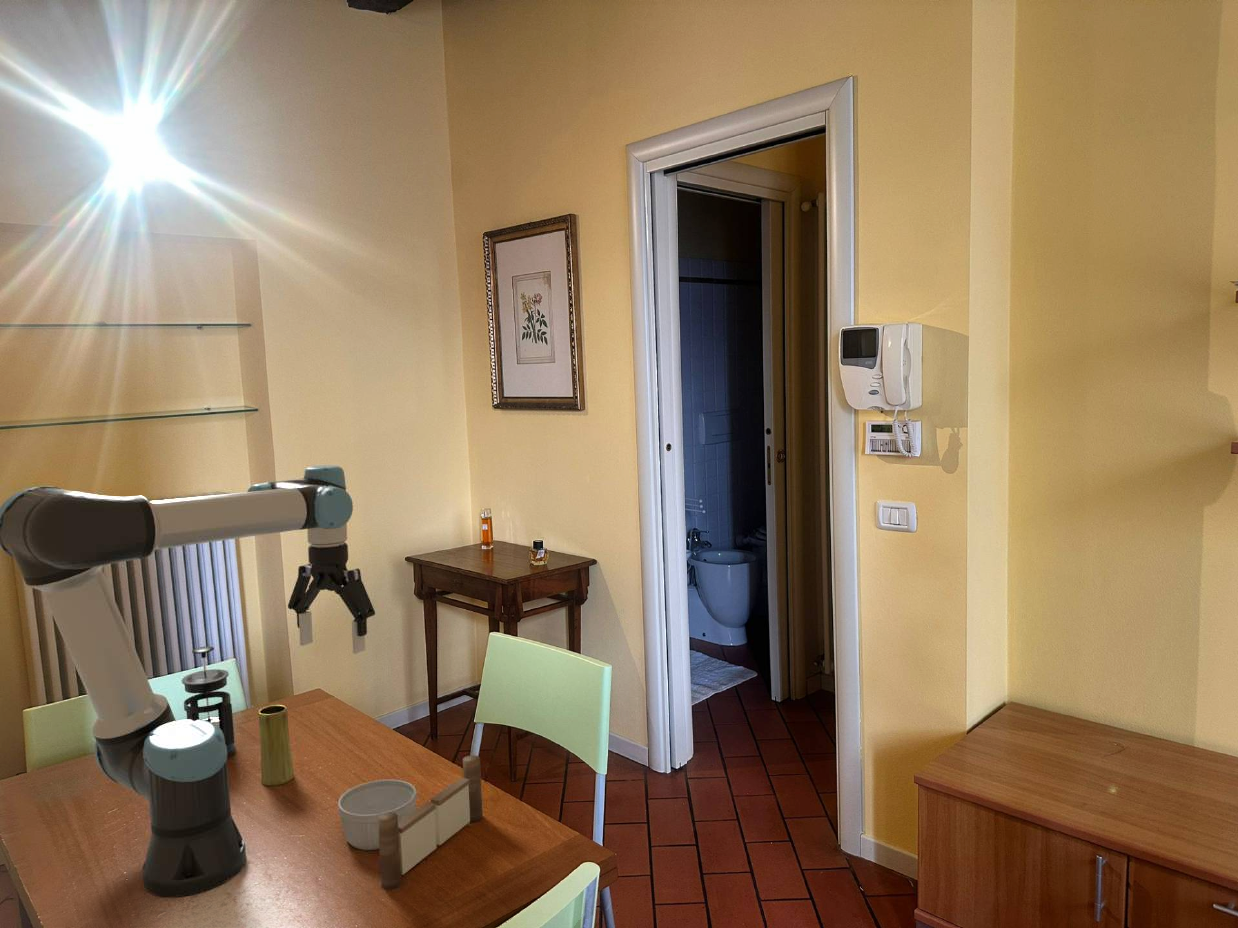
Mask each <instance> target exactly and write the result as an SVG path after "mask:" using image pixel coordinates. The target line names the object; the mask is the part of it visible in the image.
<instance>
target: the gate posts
mask: <svg viewBox="0 0 1238 928" xmlns="http://www.w3.org/2000/svg"><path fill="white" fill-rule="evenodd" d="M462 769H463V770H462V771H463V773H462V774H463V778H466V779H470V784H469V785H468V786H469V807H470V822H469V823H478V822H480V821H481V820H483V818H484V816H483V813H484V812H483V795H482V792H483V791H482V779H481V778H482V775H481V774H482V771H481V757H480V756H478V755H476V754H475V755H474V754H473V755H471V754H470V755H468V756H464V757H463V758H462ZM378 833H379V849H378V850H379V863H380V879H381V880H380V881H381V882H380V883H381V888H383V889H385V890H392V889H396V888H398V887H399V886H401V884H402V874H401V866H400V849H399V831H398V815H397V814H396V813H394V812H387V813H383V814H381V815H380V816H378Z"/></svg>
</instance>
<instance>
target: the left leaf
mask: <svg viewBox="0 0 1238 928" xmlns="http://www.w3.org/2000/svg"><path fill="white" fill-rule="evenodd" d="M435 809H436V804H434V803H431V802H428V801H426V802H425V803H423V804H422V805H420V806H419V807H418V808H415V811H413V812H412V813H410V814H409V815H408V816H406V817H405V818H403V819H402V820H401V821H399V822H398V831H399V849H400V866H401V876H403V875H404V874H406V873H407V872H408V871H410V870H411V869H412V868H413V867H414V866H416V865H417V864H418V863H420V862H421V861H422V860H423V859H425V858H426V857H428V855H430V854H431V853H432V852H434V851H435V850H436V849H437V844H436V830H435V811H434V810H435Z"/></svg>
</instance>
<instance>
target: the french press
mask: <svg viewBox="0 0 1238 928" xmlns="http://www.w3.org/2000/svg"><path fill="white" fill-rule="evenodd" d="M214 650H215V647H213V646H199V647H196V648H194V649H193V650H192V651H191V653H193V654H199V655H200V656H201V659H202V665H203V670H200V671H196V672H192V673H190V674H187V675H185V676H184V677H183V678H182V679H181V683H182V685H184V691H185V692H186V693H189V694H194V695H192V696H190V697H188V698H186V699H185V700H184V701H183V710H184V711H185V712H186V719H192V720H193V721H196V720H205V721H209V722H211V723H213V724H215V725H217V726H218V727H219V728H220V729H221V730H222V732H223V734H224V739H225V744H226V746H227V758H228V757H230V756H231V755H234V752H236V745H235V730H234V719H233V718H234V717H233V705H232V702H231V701H232V700H231V694H230V692H226V691H221V690H220V689H223V688H224V687H225V686H226V685H228V681H227V677H229V674H230V673H229V671H228V670H225V669H216V668H215V669H207V668H206V658H207V654H208V653H210V652H212V651H214ZM212 698H221V701H220V702H218V703H214V704H209V699H212ZM200 700H205V701H206V705H203V706H199V702H198V701H200ZM215 711H217V716H211V715H210V712H215ZM204 713H205V714H206V713H207V717H205V718H201V719H200V714H204Z"/></svg>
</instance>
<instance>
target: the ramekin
mask: <svg viewBox="0 0 1238 928" xmlns="http://www.w3.org/2000/svg"><path fill="white" fill-rule="evenodd" d="M417 801H418V792H417V789H416V787H415V786H414V785H413V784H412V783H410V782H408V781H404V780H399V779H378V780H377V779H376V780H373V781H372V780H371V781H367V782H364V783H360V784H358V785H356V786H354V787H351V788H349V789H348V790H346V791H345V792H344V793H342V795H341V796H340V797H339V800H338V802H337V811H338V814H339V815H340V820H341V821H340V822H341V826H342V827H341V828H342V831H343V835H344V838H345V840H346V841H347V843H348V844H350V845H351V846H352V847H353V848H355V849H359V850H366V851H375V850H380V849H379V833H378V816H380V815H381V814H383V813H387V812H394V813H396V814H397V815H398V822H399V821H401V820H402V819H403V818H405V817H406V816H408V815H409V814H410V813H412V812H413V811H415V810H416V805H417V804H416V803H417Z"/></svg>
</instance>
